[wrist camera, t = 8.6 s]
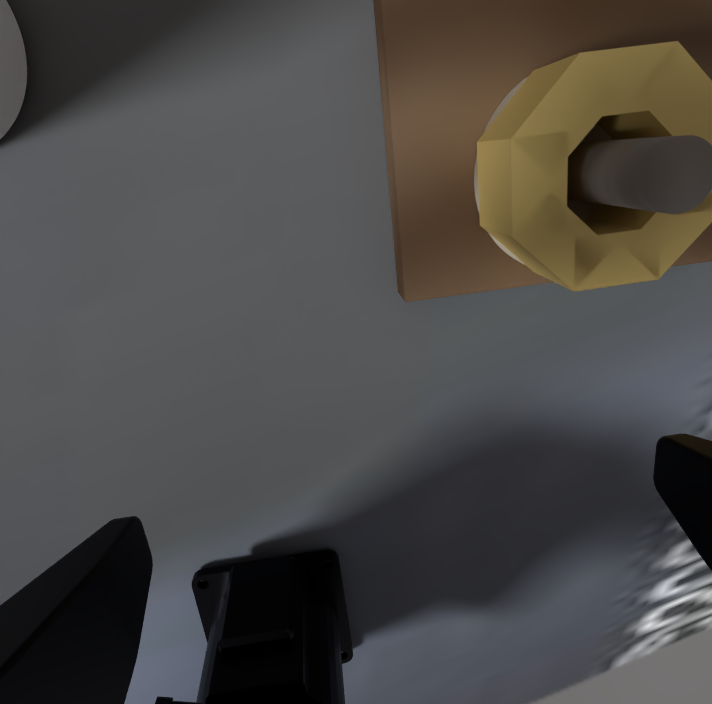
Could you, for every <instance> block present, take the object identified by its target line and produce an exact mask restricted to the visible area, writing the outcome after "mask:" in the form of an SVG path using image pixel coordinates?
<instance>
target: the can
mask: <svg viewBox="0 0 712 704" xmlns="http://www.w3.org/2000/svg"><path fill="white" fill-rule="evenodd" d="M26 84H27V61H26V53H25V48H24V43H23V39H22V35H21V32H20V29H19V26H18V24H17V21H16V19H15V16H14V14H13V12H12V10H11V8H10V6H9V4H8V2H7V1H6V0H0V139H1V138H2V137H3V136H4V135H5V134H6V133H7V132H8V130H9V129H10V128H11V126H12V125H13V123H14V121H15V120H16V118H17V116H18V114H19V112H20V109H21V106H22V103H23V100H24V96H25V91H26Z"/></svg>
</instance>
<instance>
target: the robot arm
mask: <svg viewBox="0 0 712 704" xmlns="http://www.w3.org/2000/svg"><path fill="white" fill-rule="evenodd" d="M653 479H654V484H655V487H656V490H657V491H658V493H659V495H660V496H661V498H662V499H663V501H664V502H665V504H666V505H667V507H668V508H669V510H670V511H671V513H672V514H673V516H674V517H675V519H676V520H677V522H678V523H679V524H680V526H681V527H682V529H683V530H684V532H685V533H686V535H687V536H688V538H689V539H690V541H691V542H692V544H693V545H694V547H695V548H696V550H697V551H698V553H699V554H700V556H701V557H702V558H703V560H704V561H705V563H706V564H707V565H708V567H709V568H710V569H711V571H712V441H709V440H706V439H702V438H699V437H695V436H692V435H688V434H675V435H669V436H663V437H661V438H660V439H659V440H658V442H657V445H656V454H655V464H654V474H653ZM326 560H330V561H331V562H330V563H324V561H326ZM152 567H153V562H152V555H151V551H150V548H149V545H148V541H147V538H146V535H145V532H144V528H143V525H142V522H141V521H140V519H139V518H138V517H136V516H131V517H125V518H118V519H113V520H111V521H109V522H108V523H107V524H106V525H104V526H103V527H102V528H100V529H99V530H98V531H96V532H95V533H94V534H93V535H91V536H90V537H89V538H87V539H86V540H85V541H83V542H82V543H81V544H80V545H78V546H77V547H76V548H74V549H73V550H72V551H70V552H69V553H68V554H67V555H65V556H64V557H63V558H61V559H60V560H59V561H57V562H56V563H55V564H54V565H52V566H51V567H50V568H48V569H47V570H46V571H44V572H43V573H42V574H41V575H39V576H38V577H37V578H35V579H34V580H33V581H31V582H30V583H29V584H28V585H26V586H25V587H24V588H22V589H21V590H20V591H18V592H17V593H16V594H15V595H13V596H12V597H11V598H9V599H8V600H7V601H5V602H4V603H3V604H2V605H0V704H124V702H125V699H126V695H127V692H128V688H129V685H130V681H131V678H132V674H133V670H134V667H135V663H136V659H137V654H138V649H139V644H140V638H141V632H142V627H143V621H144V615H145V609H146V603H147V598H148V592H149V586H150V580H151V575H152ZM201 580H206V581H208V582H201ZM192 589H193V592H194V596H195V600H196V603H197V607H198V610H199V614H200V618H201V621H202V625H203V628H204V632H205V635H206V639H207V643H208V645H207V650H206V655H205V660H204V665H203V670H202V676H201V681H200V686H199V691H198V696H197V701H196V703H195V702H182V701H173V698H170V697H157V699H156V703H155V704H345V696H344V684H343V672H342V664H343V663H347V662H349V661H350V660H351V659H352V657H353V650H352V642H351V636H350V629H349V623H348V616H347V610H346V603H345V596H344V590H343V583H342V577H341V570H340V564H339V557H338V554H337V553H336V552H335V551H333V550H321V551H314V552H308V553H302V554H295V555H289V556H282V557H276V558H270V559H263V560H257V561H251V562H244V563H238V564H231V565H225V566H219V567H212V568H206V569H201V570H198V571H197V572H196V573H195V574H194V576H193V580H192ZM341 652H343V653H341Z"/></svg>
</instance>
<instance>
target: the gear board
mask: <svg viewBox="0 0 712 704" xmlns="http://www.w3.org/2000/svg"><path fill="white" fill-rule="evenodd" d="M374 12H375V24H376V35H377V47H378V59H379V71H380V83H381V94H382V106H383V118H384V130H385V142H386V153H387V165H388V177H389V189H390V201H391V212H392V224H393V236H394V248H395V260H396V272H397V283H398V292H399V294H400V295H401V297H402V298H403V299H404V301H405V302H409V301H416V300H424V299H431V298H439V297H446V296H454V295H461V294H469V293H476V292H484V291H491V290H499V289H506V288H514V287H521V286H529V285H536V284H544V283H551V282H553V281H551V280H549V279H547V278H545V277H543V276H541V275H539V274H537V273H535V272H533V271H532V270H531V269H530V268H528V267H527V266H526V265H525V264H524V263H523V262H522V261H520V260H519V259H518V258H517V257H516V256H515V255H513V254H512V253H511V252H510V251H509V250H508V249H507V248H505V247H504V246H503V245H502V244H501V243H500V242H499V241H497V240H496V239H495V238H494V237H493V236H492V235H490V234H489V233H488V232H487V231H486V230H485V229H484V228H482V227H481V226H480V216H479V189H478V161H477V141H478V140H479V139H480V137H481V136H482V135H483V134H484V132H485V131H486V130H487V129H488V127H489V126H490V125H491V124H492V122H493V121H494V120H495V118H496V117H497V116H498V115H499V113H500V112H501V111H502V110H503V108H504V107H505V106H506V104H507V103H508V102H509V101H510V99H511V98H512V97H513V96H514V94H515V93H516V92H517V90H518V89H519V88H520V87H521V85H522V84H523V83H524V82H525V80H526V79H527V78H528V77H529V75H530V74H531V73H532V71H533V70H536V69H539V68H541V67H544V66H546V65H549V64H552V63H554V62H557V61H559V60H562V59H565V58H567V57H570V56H572V55H575V54H578V53H582V52H590V51H598V50H607V49H615V48H623V47H632V46H640V45H648V44H657V43H665V42H673V41H678V42H679V43H680V44H681V45H682V46H683V48H684V49H685V50H686V51H687V52H688V53H689V55H690V56H691V57H692V58H693V59H694V61H695V62H696V63H697V64H698V65H699V66H700V68H701V69H702V70H703V71H704V72H705V73H706V75H707V76H708V77H709V78H710V79H711V81H712V0H374ZM711 189H712V146H711V144H710V143H709V142H708V141H706V140H705V139H703V138H701V137H699V136H694V135H683V136H667V137H652V138H636V139H620V140H613V139H612V138H611V137H610V136H609V135H608V134H607V133H606V132H605V131H604V130H603V129H602V128H601V127H600V125H599V124H598V123H596V124H595V125H594V127H593V128H592V129H591V130H590V131H589V133H588V134H587V135H586V136H585V137H584V139H583V140H582V141H581V142H580V143H579V145H578V146H577V147H576V148H575V149H574V151H573V152H572V153H571V154H570V155H569V156H568V176H567V207H568V208H569V209H570V210H571V211H572V212H573V213H574V214H575V215H577V216H578V217H579V218H580V219H581V220H582V219H589V218H590V217H591V216H592V215H593V214H594V212H595V211H596V210H597V209H598V208H599V207H600V206H601V204H605V205H612V206H619V207H626V208H633V209H639V210H646V211H653V212H660V213H667V214H681V213H684V212H687V211H689V210H692V209H693V208H695V207H696V206H698V205H699V204H700V203H701V202H702V201H703V200H704V199H705V198H706V197H707V196H708V194H709V193H710V191H711ZM708 261H712V222H711V224H710V225H709V226H708V227H707V228H706V229H705V230H704V231H703V232H702V233H701V234H700V235H699V236H698V237H697V239H696V240H695V241H694V242H693V243H692V244H691V245H690V246H689V247H688V248H687V249H686V250H685V251H684V253H683V254H682V255H681V256H680V257H679V258H678V259H677V260H676V261H675V262H674V263H673V264H672V265H671V266H678V265H686V264H693V263H701V262H708ZM671 266H670V267H671Z"/></svg>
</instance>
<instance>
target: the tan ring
mask: <svg viewBox="0 0 712 704" xmlns="http://www.w3.org/2000/svg"><path fill="white" fill-rule="evenodd" d="M596 123H598V124H599V125H600V127H601V128H602V129H603V130H604V131H605V132H606V133H607V134H608V135H609V136H610V137H611V138H612V139H613V140H620V139H636V138H652V137H667V136H683V135H694V136H699V137H701V138H703V139H705V140H706V141H708V142H709V143H710V144H711V146H712V81H711V79H710V78H709V77H708V76H707V75H706V73H705V72H704V71H703V70H702V69H701V68H700V66H699V65H698V64H697V63H696V62H695V61H694V59H693V58H692V57H691V56H690V55H689V53H688V52H687V51H686V50H685V49H684V48H683V46H682V45H681V44H680V43H679V42H678V41H673V42H665V43H657V44H648V45H640V46H632V47H623V48H615V49H607V50H598V51H590V52H582V53H578V54H575V55H572V56H570V57H567V58H565V59H562V60H559V61H557V62H554V63H552V64H549V65H546V66H544V67H541V68H539V69H536V70H533V71H532V73H531V74H530V75H529V77H528V78H527V79H526V80H525V82H524V83H523V84H522V85H521V87H520V88H519V89H518V90H517V92H516V93H515V94H514V96H513V97H512V98H511V99H510V101H509V102H508V103H507V104H506V106H505V107H504V108H503V110H502V111H501V112H500V113H499V115H498V116H497V117H496V118H495V120H494V121H493V122H492V124H491V125H490V126H489V127H488V129H487V130H486V131H485V132H484V134H483V135H482V136H481V137H480V139H479V140H478V141H477V161H478V189H479V216H480V226H481V227H482V228H484V229H485V230H486V231H487V232H488V233H489V234H490V235H492V236H493V237H494V238H495V239H496V240H497V241H499V242H500V243H501V244H502V245H503V246H504V247H505V248H507V249H508V250H509V251H510V252H511V253H512V254H513V255H515V256H516V257H517V258H518V259H519V260H520V261H522V262H523V263H524V264H525V265H526V266H527V267H528V268H530V269H531V270H532V271H533V272H535V273H537V274H539V275H541V276H543V277H545V278H547V279H549V280H551V281H553V282H555V283H557V284H559V285H562V286H564V287H566V288H568V289H570V290H572V291H581V290H588V289H595V288H602V287H609V286H616V285H623V284H630V283H637V282H644V281H651V280H658V279H659V278H660V277H661V276H662V275H663V274H664V273H665V272H666V271H667V270H668V269H669V268H670V266H671V265H672V264H673V263H674V262H675V261H676V260H677V259H678V258H679V257H680V256H681V255H682V254H683V253H684V251H685V250H686V249H687V248H688V247H689V246H690V245H691V244H692V243H693V242H694V241H695V240H696V239H697V237H698V236H699V235H700V234H701V233H702V232H703V231H704V230H705V229H706V228H707V227H708V226H709V225H710V224H711V222H712V189H711V191H710V193H709V194H708V196H707V197H706V198H705V199H704V200H703V201H702V202H701V203H700V204H699V205H698V206H696V207H695V208H693V209H692V210H689V211H687V212H684V213H681V214H667V213H660V212H653V211H646V210H639V209H633V208H626V207H619V206H612V205H605V204H601V206H600V207H599V208H598V209H597V210H596V211H595V212H594V214H593V215H592V216H591V217H590V218H589V219H582V220H581V219H580V218H579V217H578V216H577V215H575V214H574V213H573V212H572V211H571V210H570V209H569V208H568V207H567V176H568V156H569V155H570V154H571V153H572V152H573V151H574V149H575V148H576V147H577V146H578V145H579V143H580V142H581V141H582V140H583V139H584V137H585V136H586V135H587V134H588V133H589V131H590V130H591V129H592V128H593V127H594V125H595V124H596Z"/></svg>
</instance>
